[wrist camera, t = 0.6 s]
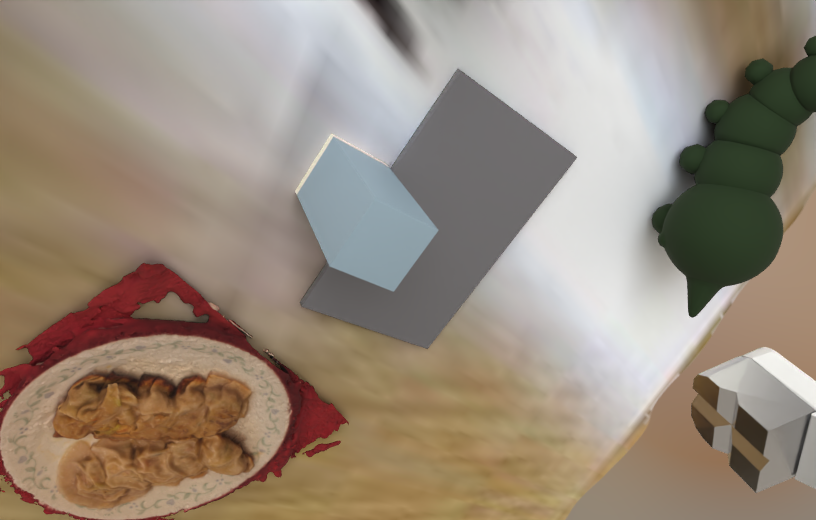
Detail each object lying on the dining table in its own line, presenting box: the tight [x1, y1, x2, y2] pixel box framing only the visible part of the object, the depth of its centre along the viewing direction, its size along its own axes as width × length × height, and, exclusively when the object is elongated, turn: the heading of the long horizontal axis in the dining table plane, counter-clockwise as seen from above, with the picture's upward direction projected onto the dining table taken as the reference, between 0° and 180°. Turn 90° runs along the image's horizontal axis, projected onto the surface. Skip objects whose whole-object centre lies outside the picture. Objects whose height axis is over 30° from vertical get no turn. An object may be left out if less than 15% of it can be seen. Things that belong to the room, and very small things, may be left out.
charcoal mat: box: [300, 69, 577, 349], centre depth 49 cm, size 14×22×1 cm, turn 144°
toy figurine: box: [652, 36, 816, 317], centre depth 49 cm, size 9×19×25 cm
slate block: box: [295, 133, 438, 292], centre depth 39 cm, size 5×5×10 cm
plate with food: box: [0, 263, 349, 520], centre depth 49 cm, size 24×26×4 cm
